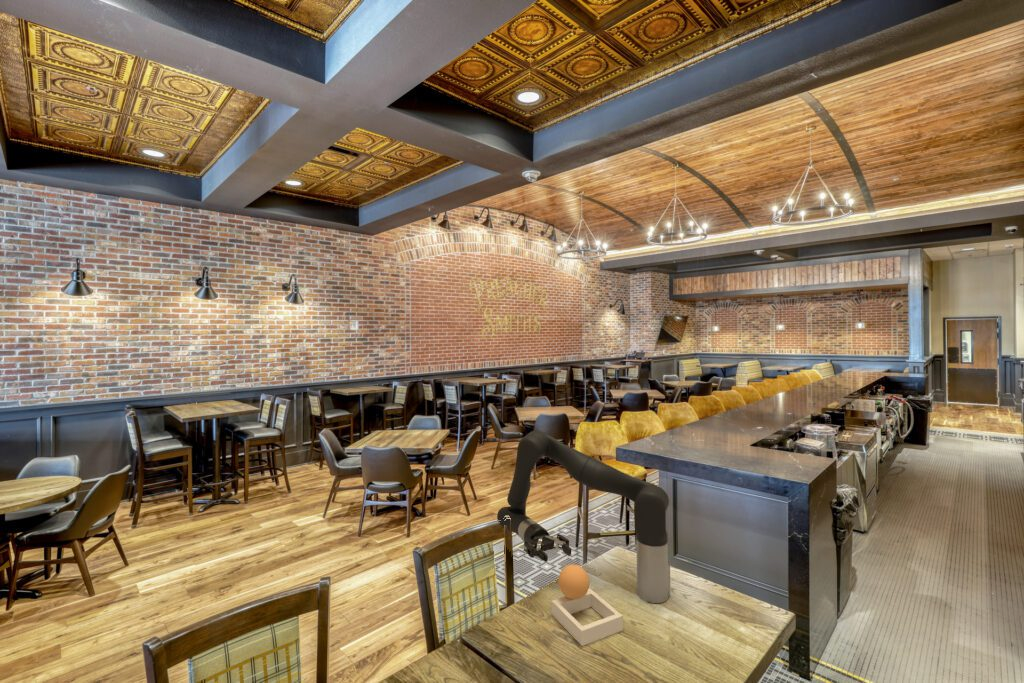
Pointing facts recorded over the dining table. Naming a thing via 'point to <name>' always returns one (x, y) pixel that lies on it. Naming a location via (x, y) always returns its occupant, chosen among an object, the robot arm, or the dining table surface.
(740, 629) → the dining table surface
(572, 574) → the ball
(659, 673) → the dining table surface
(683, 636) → the dining table surface
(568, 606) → the white square frame
